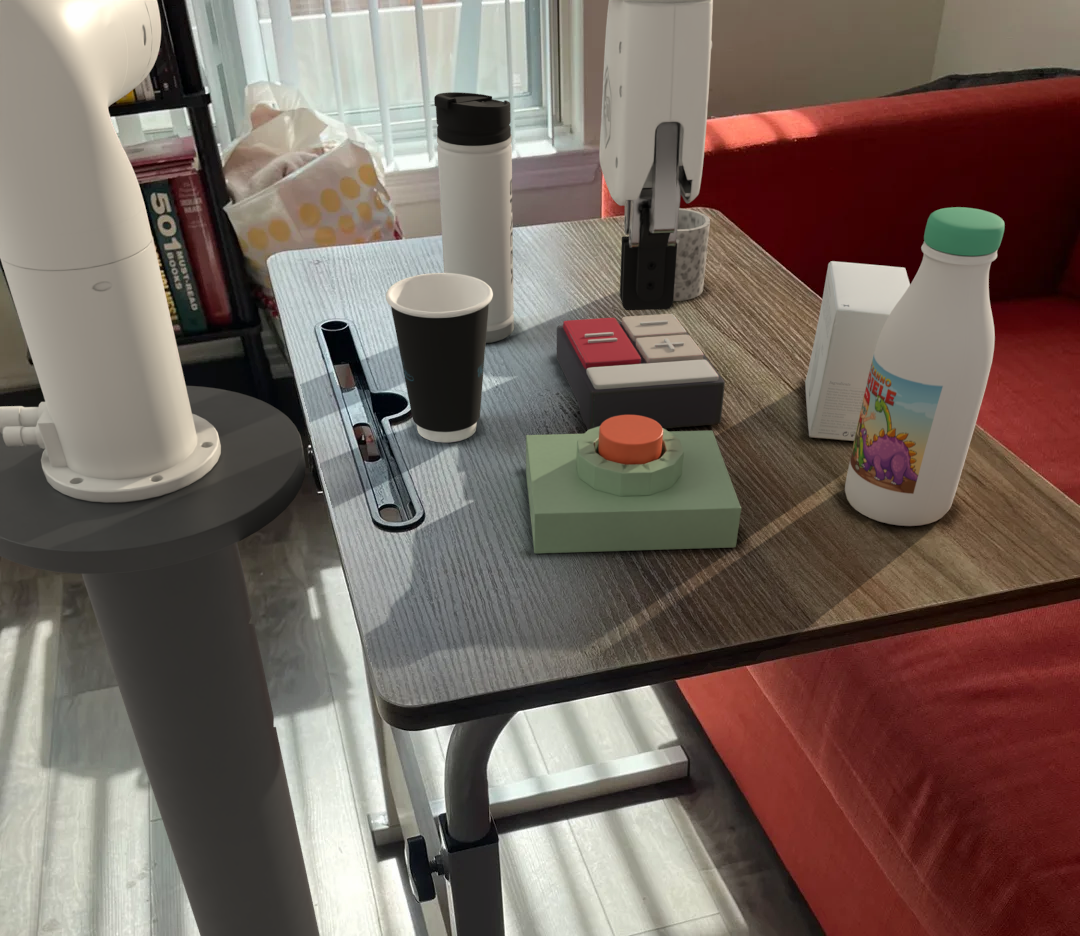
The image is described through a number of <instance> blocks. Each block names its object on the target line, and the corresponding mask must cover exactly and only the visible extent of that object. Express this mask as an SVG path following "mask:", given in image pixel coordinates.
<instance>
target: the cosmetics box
mask: <svg viewBox="0 0 1080 936" xmlns="http://www.w3.org/2000/svg"><path fill="white" fill-rule="evenodd" d="M824 281H825V282H824V286H823V287H824V288H823V292H822V293H823V294H822V298H821V299H822V300H821V304H820V310H819V315H818V319H817V325H816V331H815V335H814V339H813V345H812V350H811V355H810V359H809V365H808V369H807V372H806V377H805V382H804V384H805V385H804V386H805V401H806V403H805V404H806V416H807V426H808V427H807V428H808V436H809V438H812V439H813V438H814V439H827V440H839V441H851V442H854V439H855V435H856V430H857V425H858V421H859V416H860V411H861V407H862V402H863V398H864V394H865V389H866V385H867V380H868V376H869V371H870V367H871V363H872V359H873V356H874V352H875V348H876V344H877V341H878V338H879V335H880V333H881V330H882V328H883V326H884V324H885V322H886V320H887V318H888V316H889V315H890V313H891V311H892V310H893V309H894V307H895V306H896V304H897V303H898V302H899V300H900V299H901V297H902V296H903V295H904V293H905V292H906V290H907V289H908V287H909V286H910V284H911V283H910V279H909V276H908V273H907V270H906V267H903V266H902V267H901V266H892V265H891V266H890V265H879V264H869V263H859V262H847V261H835V260H832V261H830V262H828V264H827V270H826V275H825V280H824Z"/></svg>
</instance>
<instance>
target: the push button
mask: <svg viewBox="0 0 1080 936" xmlns="http://www.w3.org/2000/svg"><path fill="white" fill-rule="evenodd" d="M662 439H663V429H662V426H661V425H660V424H659V423H658V422H656V421H655V420H653V419H651V418H648V417H644V416H639V415H619V416H614V417H611V418H609V419H607V420H605V421H604V422H603V423H602V424H601V425H600V428H599V446H598V452H599V454H600V456H601V457H603V458H604V459H606V460H609V461H613V462H617V463H621V464H625V465H631V464H646V463H649V462H651V461H654V460H657V459H659V457H660V456H661V451H662Z"/></svg>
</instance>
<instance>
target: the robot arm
mask: <svg viewBox="0 0 1080 936" xmlns="http://www.w3.org/2000/svg"><path fill="white" fill-rule="evenodd" d="M713 9H714V0H608V3H607V11H606V12H607V14H606V23H605V24H606V25H605V35H604V36H605V37H604V54H603V75H602V76H603V77H602V99H601V118H600V133H599V134H600V135H599V151H598V152H599V155H598V157H599V165H600V169H601V172H602V175H603V178H604V182H605V184H606V188H607V190H608V193H609V194H610V197H611V199H612V200H613V201H614V202H615V203H616V205H618V206H620V207H622V206H623V207H624V215H623V216H624V217H623V218H624V219H623V227H624V229H623V230H624V236H621V247H620V248H621V249H620V276H619V278H620V279H619V280H620V282H619V298H620V301H621V305H622V308H623V309H624V310H626V311H628V312H629V311H652V310H653V311H655V310H656V311H657V310H658V311H659V310H669V309H671V308H672V307H673V305H674V301H673V298H674V284H675V269H676V255H677V242H676V238H677V228H678V217H679V208H681V207H680V206H681V198H682V199H683V201H684V203H685V204H690V203H692V202H693V201H694V200H695V199H696V198H697V197H698V196H699V194H700V190H701V184H702V177H703V167H704V158H705V147H706V135H707V123H708V109H709V108H708V107H709V95H710V94H709V92H710V78H711V77H710V76H711V59H712V58H711V56H712V49H713V41H712V36H713V34H712V33H713V12H714V11H713ZM161 41H162V20H161V13H160V7H159V3H158V0H0V262H1V266H2V268H3V270H4V275H5V278H6V281H7V284H8V287H9V291H10V293H11V297H12V300H13V304H14V307H15V310H16V313H17V317H18V319H19V323H20V325H21V328H22V329H21V330H22V332H23V335H24V338H25V341H26V344H27V348H28V351H29V354H30V357H31V361H32V363H33V366H34V367H33V368H34V370H35V373H36V376H37V380H38V382H39V386H40V389H41V392H42V395H43V399H44V401H40V403H39V404H38V406H23V405H14V406H13V405H11V406H8V405H7V406H6V405H5V406H0V433H1V434H3V439H4V442H5V444H6V445H7V446H26V445H39V447H40V448H43V449H45V450H44V451H43V454H42V458H41V463H42V469H43V471H44V474H45V477H46V479H47V482H48V483H49V484H50V485H51V486H52V487H53V488H54V489H56V490H58V491H59V492H61V493H63V494H65V495H67V496H70V497H73V498H76V499H80V500H85V501H90V502H102V503H122V502H132V501H140V500H146V499H150V498H155V497H159V496H162V495H166V494H169V493H172V492H175V491H177V490H180V489H182V488H184V487H186V486H189V485H190V484H192V483H194V482H196V481H197V480H199V479H201V478H202V477H203V476H204V475H205V474H207V473H208V472H209V471H210V470H211V469H212V468H213V467H214V465H215V464H216V463H217V462H218V459H219V457H220V454H221V444H220V440H219V436H218V432H217V431H216V429H215V428H214V426H213V425H212V424H210V423H209V422H208V421H207V420H205V419H203V418H201V417H199V416H197V415H195V414H192V412H191V407H190V403H189V398H188V394H187V389H186V386H187V384H186V381H185V376H184V371H183V367H182V363H181V362H182V361H181V358H180V353H179V350H178V344H177V339H176V335H175V331H174V328H173V322H172V318H171V313H170V308H169V305H168V304H169V303H168V299H167V295H166V291H165V286H164V281H163V277H162V273H161V272H162V271H161V267H160V263H159V258H158V253H157V250H156V245H155V241H154V236H153V234H152V230H151V226H150V221H149V217H148V213H147V212H148V211H147V209H146V204H145V201H144V196H143V193H142V190H141V187H140V184H139V181H138V178H137V175H136V173H135V170H134V168H133V165H132V163H131V161H130V159H129V156H128V155H127V152H126V150H125V149H124V147H123V145H122V142H121V140H120V138H119V136H118V134H117V131H116V129H115V126H114V124H113V121H112V118H111V113H110V111H109V107H110V106H111V105H113V104H114V103H116V102H118V101H119V100H120V99H122V98H124V97H125V96H126V95H128V94H129V93H130V92H132V91H133V90H134V89H136V88H137V87H138V86H139V85H140V84H141V83H142V82H144V81H145V79H146V78H147V77H148V76H149V74H150V73H151V71H152V69H153V68H154V66H155V63H156V61H157V59H158V55H159V52H160V46H161ZM625 235H626V236H625ZM627 235H628V236H627Z"/></svg>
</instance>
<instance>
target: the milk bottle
mask: <svg viewBox="0 0 1080 936" xmlns="http://www.w3.org/2000/svg"><path fill="white" fill-rule="evenodd" d="M1005 226H1006V225H1005V221H1004V220H1003V218H1002V217H1000V216H999V215H997V214H995V213H993V212H990V211H987V210H984V209H979V208H973V207H964V206H963V207H961V206H956V207H953V206H951V207H944V208H940V209H937V210H934V211H933V212H931V213H930V214H929V216H928V218H927V222H926V224H925V229H924V235H923V240H924V241H923V243H922V245H921V247H920V249H921V252H922V253H923V256H922V260H921V262H920V266H919V268H918V269H917V272H916V274H915V275H914V278H913V279H912V281H911V283H910V286H909V287H908V289H907V290H906V292H905V293H904V295H903V296H902V297H901V299H900V300H899V302H898V303H897V304H896V306H895V307H894V309H893V310H892V311H891V313H890V315H889V316H888V318H887V320H886V322H885V324H884V326H883V328H882V330H881V333H880V335H879V338H878V341H877V344H876V348H875V352H874V356H873V359H872V363H871V367H870V371H869V376H868V380H867V385H866V389H865V394H864V398H863V402H862V407H861V411H860V416H859V421H858V425H857V430H856V435H855V439H854V441H853V444H852V449H851V454H850V458H849V463H848V467H847V472H846V479H845V484H844V493H845V497H846V499H847V502H848V503H849V505H850V506H851V507H852V508H853V509H854V510H855V511H856V512H859V513H860V514H861V515H863V516H865V517H868V518H869V519H871V520H874V521H877V522H880V523H883V524H884V523H885V524H887V525H895V526H902V527H903V526H904V527H915V526H924V525H929V524H931V523H934V522H937V521H938V520H940V519H943V517H944V516H945V515H946V514H947V513H948V512H949V510H950V509H951V508H952V505H953V502H954V500H955V496H956V493H957V489H958V486H959V483H960V480H961V476H962V473H963V469H964V465H965V463H966V459H967V457H968V456H967V455H968V451H969V448H970V446H971V441H972V438H973V434H974V432H975V429H976V425H977V421H978V417H979V413H980V410H981V406H982V403H983V399H984V395H985V392H986V388H987V385H988V380H989V376H990V372H991V368H992V364H993V360H994V359H993V358H994V351H995V341H996V336H995V324H994V317H993V312H992V308H991V307H992V306H991V300H990V288H989V287H990V285H989V284H990V282H989V281H990V280H989V279H990V270H991V265H992V262H994V261H996V259H997V258H998V250H999V248H1000V246H1001V243H1002V241H1003V237H1004V233H1005V229H1006V228H1005Z"/></svg>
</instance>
